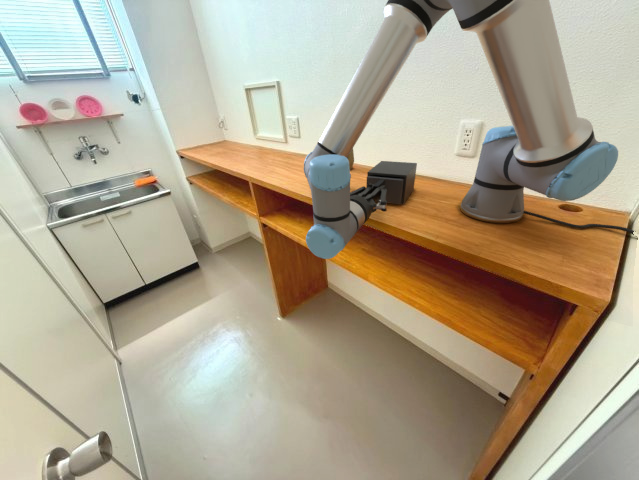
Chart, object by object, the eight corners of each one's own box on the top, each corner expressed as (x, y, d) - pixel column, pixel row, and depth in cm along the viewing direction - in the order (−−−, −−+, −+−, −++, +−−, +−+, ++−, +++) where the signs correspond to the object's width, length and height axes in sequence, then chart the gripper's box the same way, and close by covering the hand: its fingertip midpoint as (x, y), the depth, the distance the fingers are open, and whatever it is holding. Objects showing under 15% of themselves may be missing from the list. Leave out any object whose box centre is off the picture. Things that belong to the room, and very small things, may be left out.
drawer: (399, 205, 79) (401, 181, 75) (364, 200, 84) (365, 178, 80) (410, 190, 90) (412, 168, 86) (378, 186, 95) (380, 165, 91)
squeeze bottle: (357, 167, 122) (357, 127, 113) (349, 172, 116) (349, 130, 107) (342, 166, 126) (341, 126, 117) (334, 170, 120) (332, 129, 111)
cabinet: (403, 204, 82) (406, 175, 77) (366, 199, 87) (367, 172, 82) (413, 189, 92) (417, 163, 87) (380, 185, 98) (381, 160, 93)
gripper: (328, 223, 66) (362, 192, 83) (376, 233, 60) (402, 197, 77) (326, 196, 62) (362, 169, 79) (378, 204, 56) (405, 173, 73)
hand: (382, 183), depth 78 cm, fingers closed
